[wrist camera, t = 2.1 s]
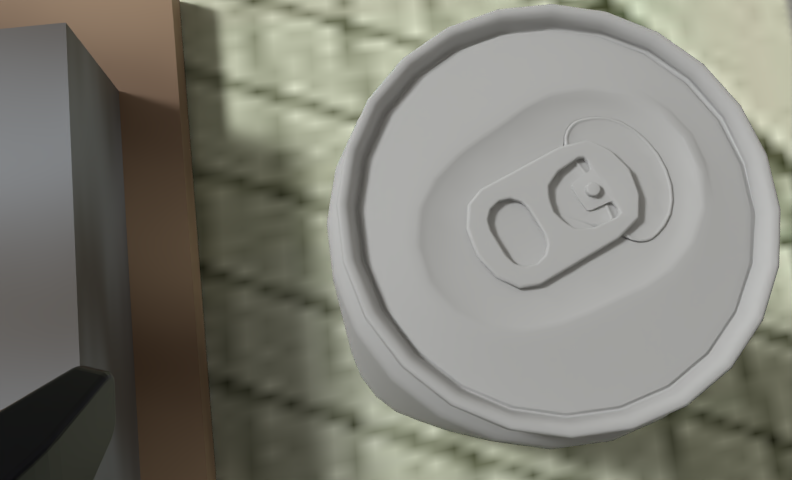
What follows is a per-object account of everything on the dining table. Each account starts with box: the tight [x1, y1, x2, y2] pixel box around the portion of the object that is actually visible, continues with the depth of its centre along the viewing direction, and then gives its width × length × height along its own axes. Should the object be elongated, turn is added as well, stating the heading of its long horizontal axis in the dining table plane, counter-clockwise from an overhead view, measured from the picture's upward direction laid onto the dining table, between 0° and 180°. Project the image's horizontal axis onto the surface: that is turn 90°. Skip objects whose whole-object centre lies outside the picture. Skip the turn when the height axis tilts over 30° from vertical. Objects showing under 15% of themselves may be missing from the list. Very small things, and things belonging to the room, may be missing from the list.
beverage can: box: [327, 4, 780, 449], centre depth 14 cm, size 5×5×12 cm
